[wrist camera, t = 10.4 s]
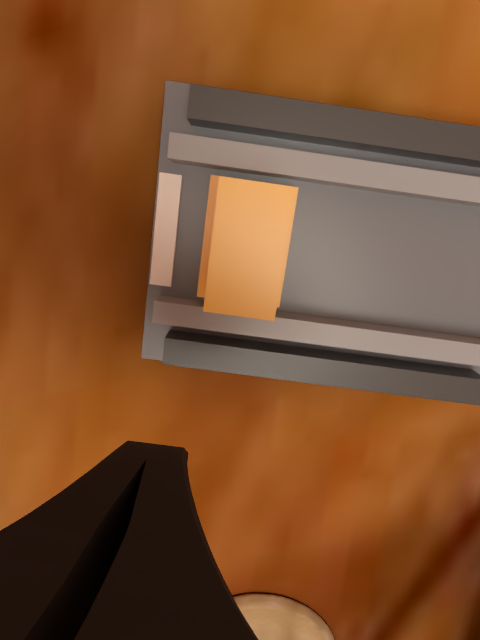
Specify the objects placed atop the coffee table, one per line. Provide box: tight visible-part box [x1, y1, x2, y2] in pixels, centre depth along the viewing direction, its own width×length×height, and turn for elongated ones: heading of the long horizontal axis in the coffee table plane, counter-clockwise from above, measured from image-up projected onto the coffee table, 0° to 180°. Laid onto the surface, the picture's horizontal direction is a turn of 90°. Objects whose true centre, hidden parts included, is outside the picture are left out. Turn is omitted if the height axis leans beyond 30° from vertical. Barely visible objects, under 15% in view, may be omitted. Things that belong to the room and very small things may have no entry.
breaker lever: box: [197, 175, 299, 321], centre depth 14 cm, size 3×4×4 cm
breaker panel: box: [141, 80, 480, 405], centre depth 16 cm, size 14×10×3 cm
